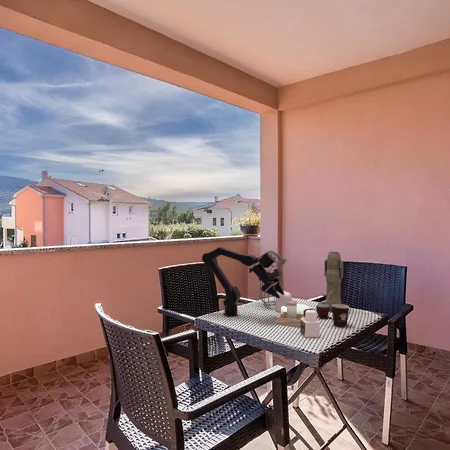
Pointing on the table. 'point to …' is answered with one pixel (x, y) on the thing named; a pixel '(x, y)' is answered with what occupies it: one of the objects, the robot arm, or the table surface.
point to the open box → (288, 320)
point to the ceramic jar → (291, 309)
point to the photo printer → (282, 300)
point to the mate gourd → (323, 309)
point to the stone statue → (333, 278)
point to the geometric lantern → (272, 270)
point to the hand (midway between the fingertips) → (281, 296)
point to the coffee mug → (339, 314)
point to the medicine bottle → (310, 324)
